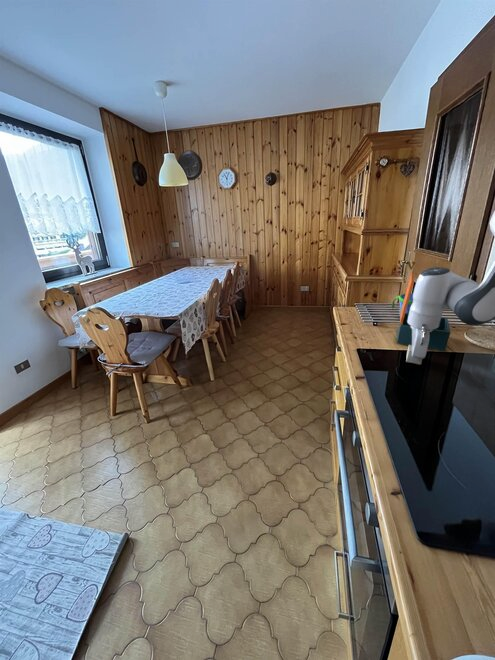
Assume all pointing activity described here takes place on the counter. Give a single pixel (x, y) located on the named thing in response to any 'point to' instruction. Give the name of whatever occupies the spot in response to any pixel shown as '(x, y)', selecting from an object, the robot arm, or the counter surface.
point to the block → (409, 356)
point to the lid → (407, 297)
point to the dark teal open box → (436, 338)
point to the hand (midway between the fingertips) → (414, 355)
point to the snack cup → (401, 299)
